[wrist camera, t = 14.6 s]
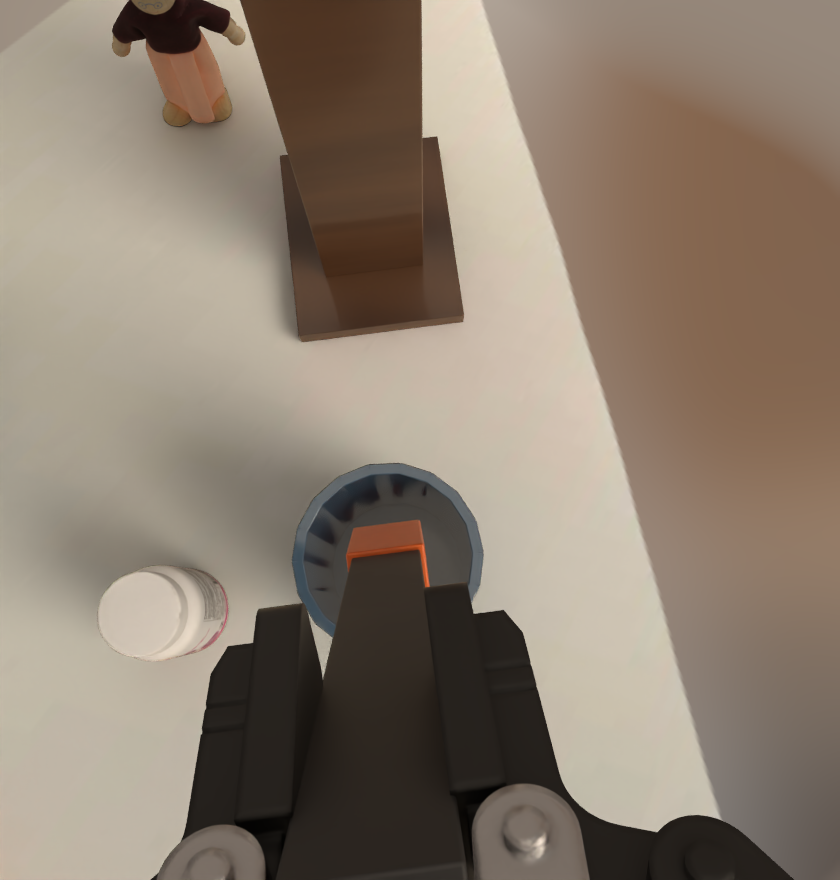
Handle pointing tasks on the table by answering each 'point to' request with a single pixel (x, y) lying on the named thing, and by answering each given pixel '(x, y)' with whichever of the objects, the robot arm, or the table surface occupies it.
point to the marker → (378, 732)
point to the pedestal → (357, 166)
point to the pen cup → (374, 503)
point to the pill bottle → (162, 612)
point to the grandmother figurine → (180, 54)
